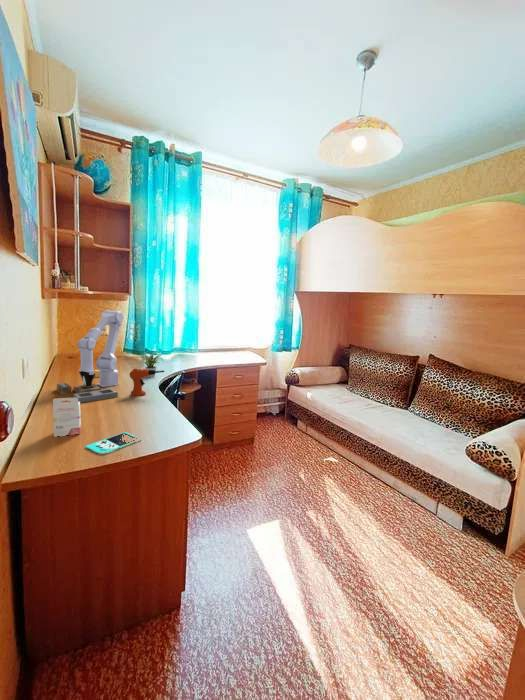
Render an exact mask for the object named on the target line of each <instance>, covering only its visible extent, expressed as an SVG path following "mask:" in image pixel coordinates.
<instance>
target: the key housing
mask: <svg viewBox="0 0 525 700" xmlns="http://www.w3.org/2000/svg"><path fill="white" fill-rule="evenodd" d="M63 383H64V384H65V385H67V386H68V387H62V386H61V385H59V383H56V391H57V390H58V391H59V394H61V395H68V394H67V393H69V394H72V386H70V385H69V383H67V382H63ZM58 391H57V392H58Z"/></svg>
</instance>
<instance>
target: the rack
mask: <svg viewBox="0 0 525 700" xmlns="http://www.w3.org/2000/svg"><path fill="white" fill-rule="evenodd" d="M118 395H119V392H118V391H116V390H115V389H113V388H105V389H101V390H97V391H91V392H84V393H74V394H73V398H76V397H77V398H78V402H80V404H82V402H83V403H88V402H94V401H101V400H106V399H107V400H108V399H113V398H118Z"/></svg>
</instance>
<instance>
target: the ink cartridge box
mask: <svg viewBox="0 0 525 700" xmlns="http://www.w3.org/2000/svg"><path fill="white" fill-rule="evenodd" d="M65 401H67V402H65ZM81 415H82V414H81V403H80V402H78V398H77V397H76V398H74V397H61V398H53V399H52V421H53V425H52V426H53V437H54V438H58V437H57V436H60V437H67V436H66V435H70V436H76V435H75V434H79V435H81V431H82V416H81Z"/></svg>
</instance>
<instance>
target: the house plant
mask: <svg viewBox="0 0 525 700" xmlns="http://www.w3.org/2000/svg"><path fill="white" fill-rule="evenodd" d="M148 354H149V357H147V355H145V354H143V356H142V357H143V358H144V359H145V361H143V362H142V364H145V365H146V366H145V368H144V369H147V370H155V371H157V366H156V365H155V364H157V363H158V364H160V361H159V362H158V358H159V357H160V354H158V355H156V356H155V357H154V352H152V354H151V353H150V352H149V353H148ZM154 365H155V366H154ZM154 377H156V373H155V374H154V375H149V376H147V377H146V378H154Z"/></svg>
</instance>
